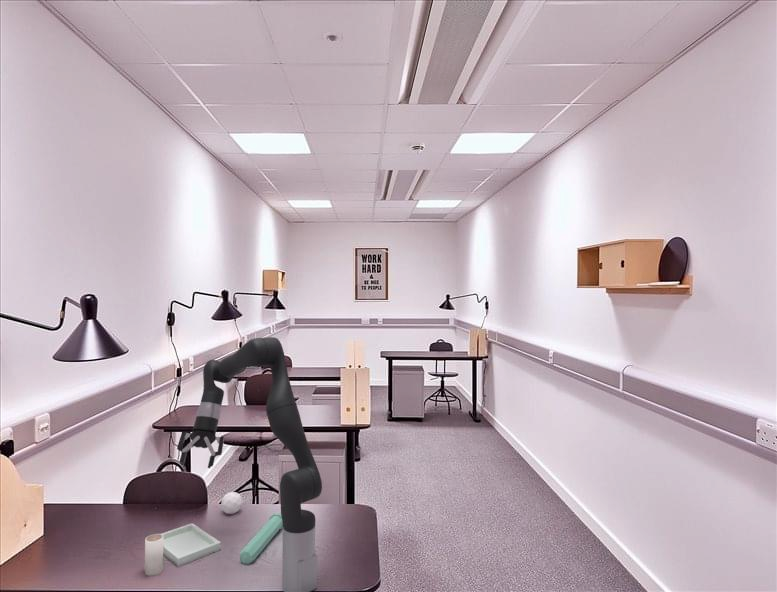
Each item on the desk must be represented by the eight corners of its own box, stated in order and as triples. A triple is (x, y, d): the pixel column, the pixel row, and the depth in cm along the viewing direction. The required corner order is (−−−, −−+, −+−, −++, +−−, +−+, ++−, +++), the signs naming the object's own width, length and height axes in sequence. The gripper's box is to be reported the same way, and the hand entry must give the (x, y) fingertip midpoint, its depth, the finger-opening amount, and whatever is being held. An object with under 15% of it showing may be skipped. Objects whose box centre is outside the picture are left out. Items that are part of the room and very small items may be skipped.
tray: (220, 550, 161) (220, 542, 161) (178, 566, 150) (178, 558, 150) (192, 530, 174) (192, 523, 174) (151, 544, 164) (151, 536, 164)
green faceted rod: (249, 546, 151) (281, 510, 176) (233, 552, 152) (267, 515, 177) (256, 565, 151) (287, 526, 176) (239, 570, 152) (273, 531, 177)
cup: (165, 571, 148) (166, 537, 148) (148, 577, 144) (149, 543, 144) (159, 564, 151) (159, 532, 152) (142, 571, 148) (142, 537, 148)
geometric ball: (225, 521, 188) (213, 504, 187) (239, 506, 194) (227, 490, 194) (236, 516, 183) (223, 499, 183) (250, 501, 190) (237, 484, 190)
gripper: (184, 412, 166) (171, 462, 159) (228, 418, 168) (217, 468, 161) (187, 416, 172) (175, 465, 165) (229, 422, 175) (218, 470, 168)
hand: (195, 466), depth 163 cm, fingers open, 8 cm apart
